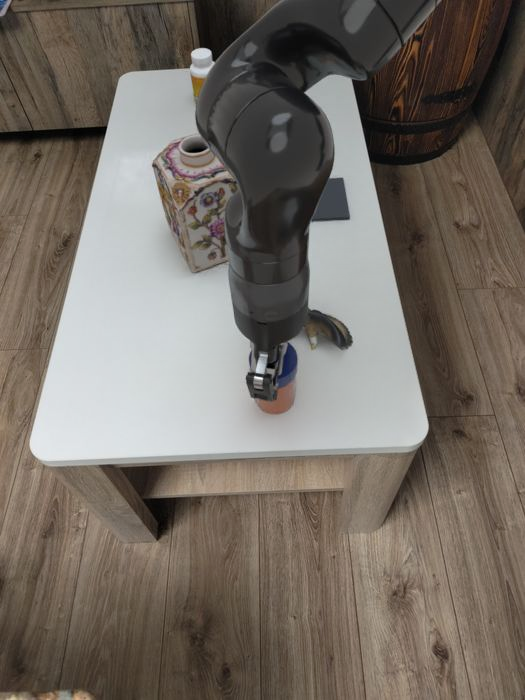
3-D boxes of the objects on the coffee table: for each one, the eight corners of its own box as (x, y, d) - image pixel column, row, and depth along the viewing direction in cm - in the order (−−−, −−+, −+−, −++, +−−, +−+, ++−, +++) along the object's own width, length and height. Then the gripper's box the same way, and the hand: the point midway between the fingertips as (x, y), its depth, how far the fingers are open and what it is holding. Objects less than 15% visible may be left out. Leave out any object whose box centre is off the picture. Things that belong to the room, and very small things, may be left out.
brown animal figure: (281, 356, 69) (346, 363, 66) (279, 307, 66) (347, 311, 63) (296, 336, 75) (356, 341, 72) (295, 290, 72) (357, 294, 69)
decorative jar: (191, 276, 79) (169, 182, 63) (167, 229, 84) (141, 133, 69) (260, 250, 81) (254, 154, 66) (232, 206, 87) (220, 108, 72)
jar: (293, 376, 68) (293, 340, 60) (296, 412, 65) (298, 379, 58) (253, 379, 68) (249, 343, 61) (255, 415, 65) (251, 382, 58)
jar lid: (255, 344, 62) (254, 333, 60) (301, 351, 62) (301, 341, 60) (245, 384, 59) (243, 375, 57) (292, 392, 58) (292, 383, 57)
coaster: (342, 180, 89) (343, 177, 89) (349, 219, 84) (350, 216, 83) (286, 183, 89) (286, 180, 89) (290, 222, 84) (290, 219, 84)
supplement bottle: (213, 111, 102) (206, 62, 94) (190, 105, 104) (182, 57, 95) (225, 97, 105) (220, 48, 97) (202, 91, 106) (195, 43, 98)
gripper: (248, 229, 52) (256, 323, 66) (211, 343, 44) (229, 421, 59) (320, 238, 51) (312, 332, 65) (294, 356, 43) (292, 433, 58)
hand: (273, 374), depth 62 cm, fingers closed on jar lid, 5 cm apart
